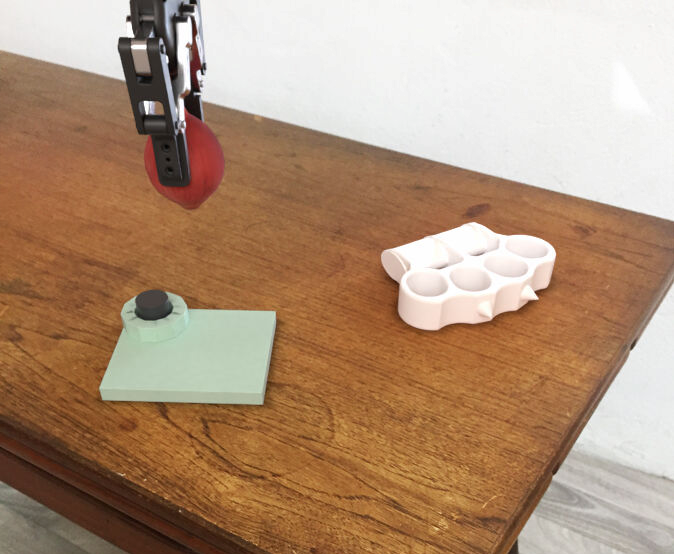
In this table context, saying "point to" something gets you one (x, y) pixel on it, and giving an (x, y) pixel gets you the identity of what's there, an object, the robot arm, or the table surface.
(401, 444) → the table surface
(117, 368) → the scale
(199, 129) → the onion
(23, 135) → the table surface
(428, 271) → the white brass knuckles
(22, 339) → the table surface
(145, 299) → the button
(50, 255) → the table surface
